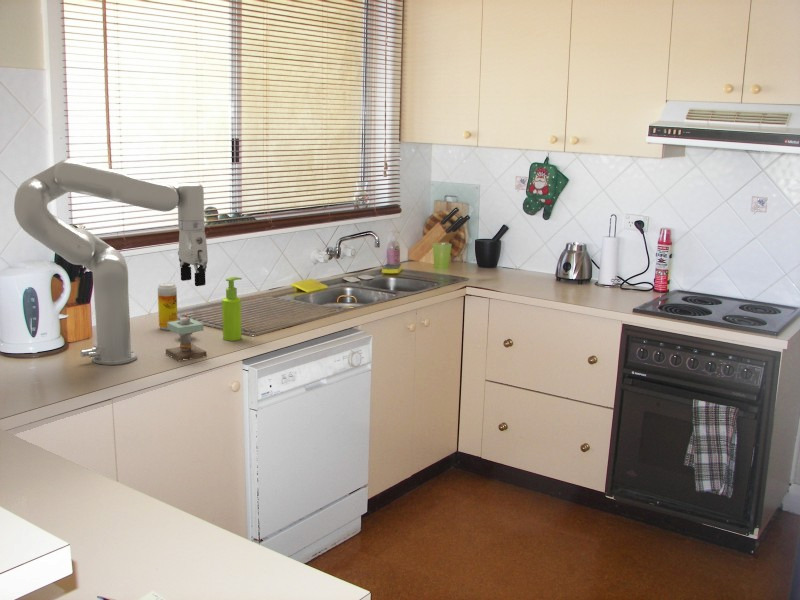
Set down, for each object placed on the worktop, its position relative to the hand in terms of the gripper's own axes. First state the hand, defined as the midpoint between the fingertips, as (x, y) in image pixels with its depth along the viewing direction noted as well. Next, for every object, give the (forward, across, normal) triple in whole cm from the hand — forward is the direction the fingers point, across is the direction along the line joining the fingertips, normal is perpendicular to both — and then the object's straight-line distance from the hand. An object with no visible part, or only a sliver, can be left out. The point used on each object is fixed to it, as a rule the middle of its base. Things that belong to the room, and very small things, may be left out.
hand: (193, 282), depth 260 cm
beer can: (+22, +32, -6) cm, 39 cm away
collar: (+14, 0, +3) cm, 14 cm away
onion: (+22, +17, -5) cm, 28 cm away
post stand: (+22, 0, +3) cm, 22 cm away
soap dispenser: (+22, +9, -18) cm, 30 cm away
